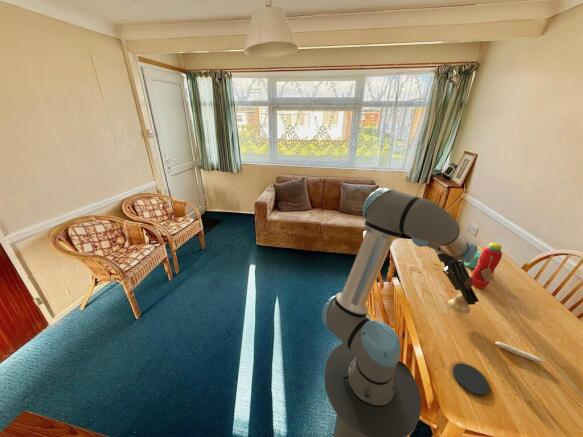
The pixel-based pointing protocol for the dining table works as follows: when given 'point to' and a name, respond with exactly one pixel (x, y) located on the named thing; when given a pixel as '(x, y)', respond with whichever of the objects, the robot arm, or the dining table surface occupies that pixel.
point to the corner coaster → (470, 379)
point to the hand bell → (461, 299)
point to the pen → (519, 352)
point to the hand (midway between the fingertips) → (473, 302)
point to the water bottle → (486, 265)
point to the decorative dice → (473, 261)
